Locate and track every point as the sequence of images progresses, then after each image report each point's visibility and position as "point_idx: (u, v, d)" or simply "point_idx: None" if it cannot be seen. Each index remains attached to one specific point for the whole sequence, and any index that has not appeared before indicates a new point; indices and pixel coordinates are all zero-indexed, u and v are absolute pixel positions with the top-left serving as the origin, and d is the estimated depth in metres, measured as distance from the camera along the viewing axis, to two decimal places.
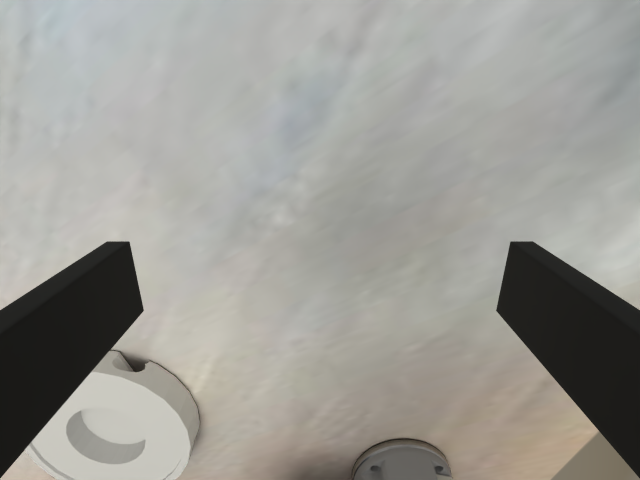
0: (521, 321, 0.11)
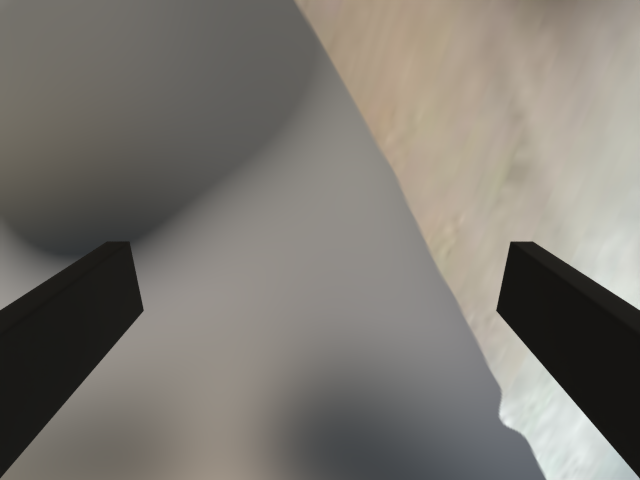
0: (521, 321, 0.11)
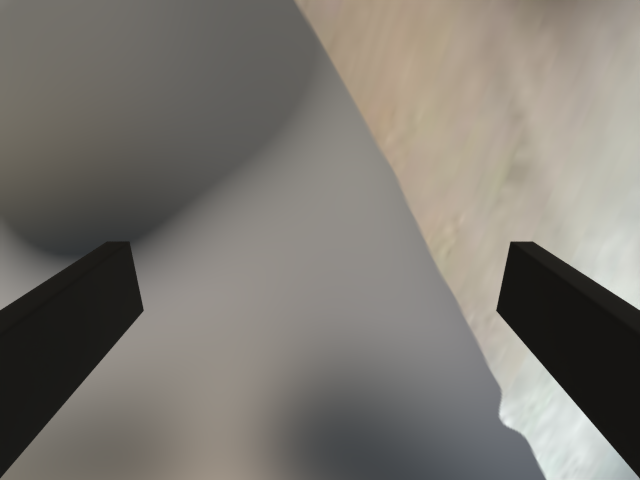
0: (521, 321, 0.11)
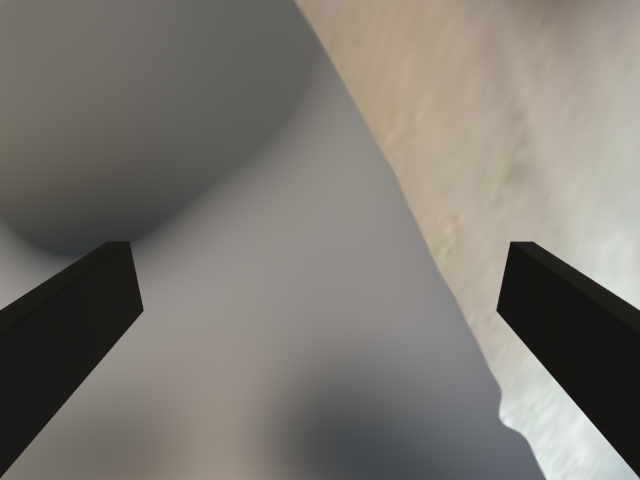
0: (521, 321, 0.11)
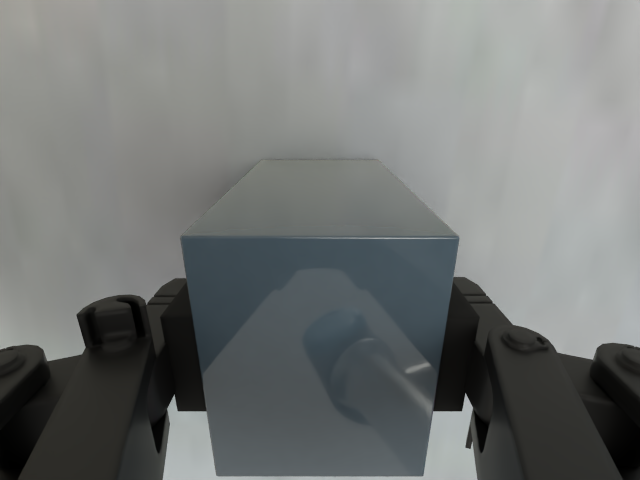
0: None
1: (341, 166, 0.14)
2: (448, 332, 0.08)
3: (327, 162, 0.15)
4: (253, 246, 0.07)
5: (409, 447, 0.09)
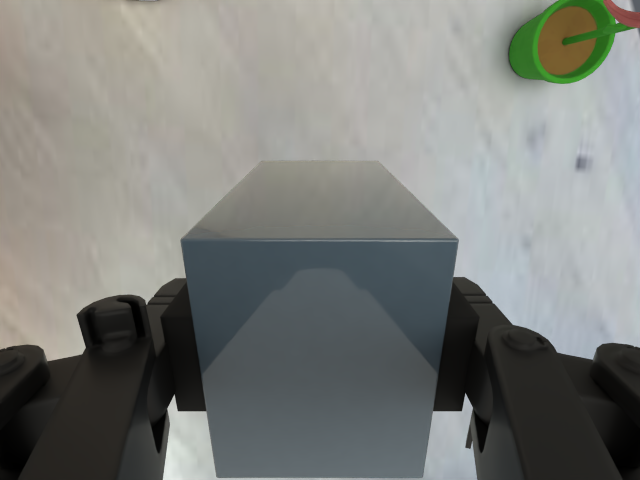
0: None
1: (341, 167, 0.15)
2: (448, 332, 0.08)
3: (327, 163, 0.16)
4: (253, 249, 0.07)
5: (408, 449, 0.09)
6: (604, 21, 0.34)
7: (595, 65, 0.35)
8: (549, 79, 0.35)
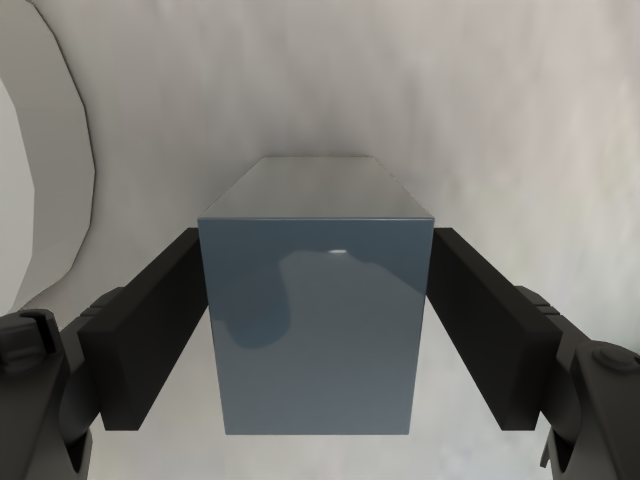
0: (437, 298, 0.13)
1: (337, 162, 0.16)
2: (528, 348, 0.07)
3: (324, 159, 0.17)
4: (259, 226, 0.08)
5: (396, 408, 0.10)
6: None
7: None
8: None
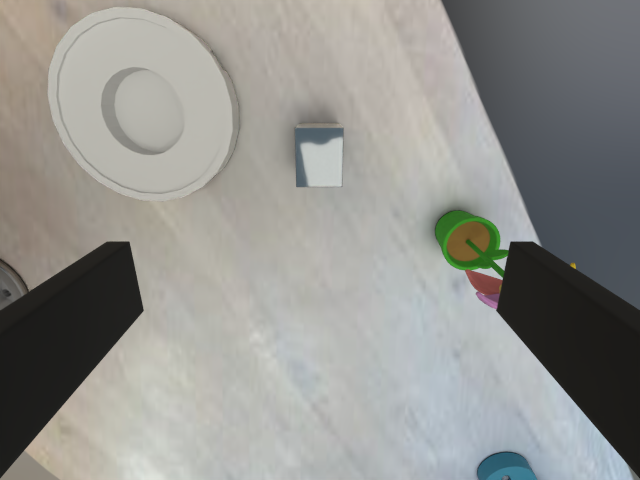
0: (521, 321, 0.11)
1: None
2: None
3: (321, 123, 0.48)
4: (307, 129, 0.40)
5: (338, 178, 0.42)
6: (493, 233, 0.48)
7: None
8: (456, 267, 0.50)
